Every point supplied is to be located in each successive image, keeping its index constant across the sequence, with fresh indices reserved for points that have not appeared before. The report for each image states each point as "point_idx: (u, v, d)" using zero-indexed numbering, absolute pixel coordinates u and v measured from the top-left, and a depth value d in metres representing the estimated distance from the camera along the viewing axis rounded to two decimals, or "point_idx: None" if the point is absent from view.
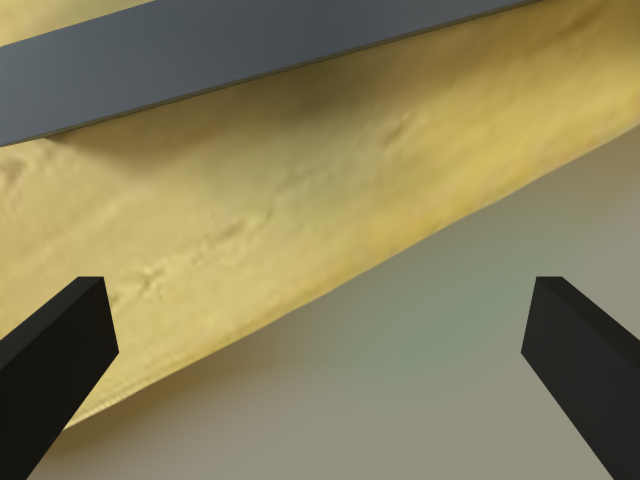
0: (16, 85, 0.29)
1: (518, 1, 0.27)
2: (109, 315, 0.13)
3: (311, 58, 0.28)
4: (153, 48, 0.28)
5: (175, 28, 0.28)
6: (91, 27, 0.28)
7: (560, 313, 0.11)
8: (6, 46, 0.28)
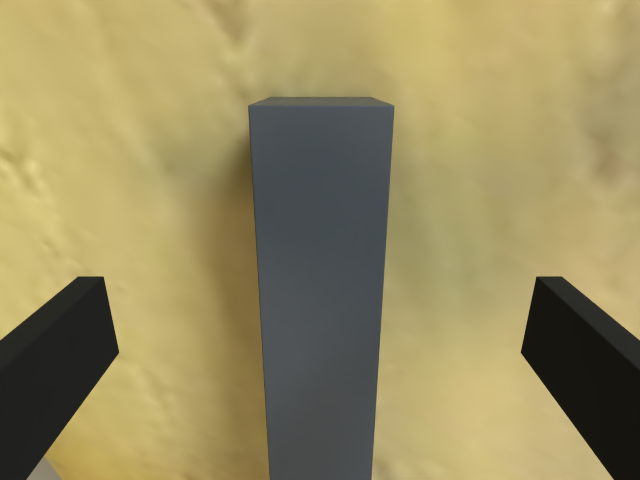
0: (331, 223, 0.19)
1: None
2: (109, 315, 0.13)
3: None
4: (326, 402, 0.22)
5: (340, 428, 0.23)
6: (370, 347, 0.21)
7: (560, 313, 0.11)
8: (384, 235, 0.19)
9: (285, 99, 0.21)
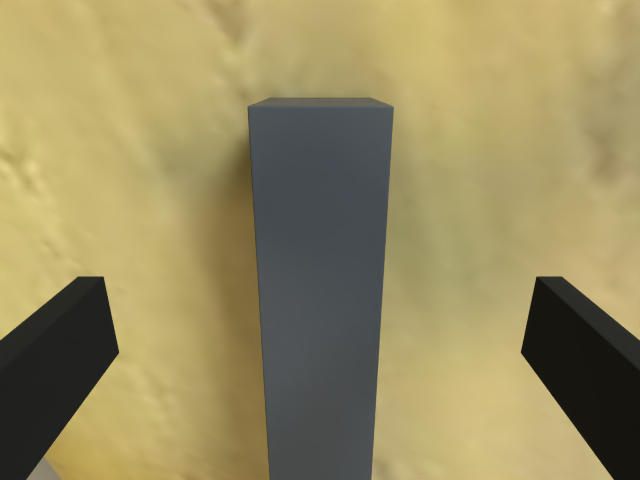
0: (331, 224, 0.19)
1: None
2: (110, 315, 0.13)
3: None
4: (326, 402, 0.22)
5: (340, 429, 0.23)
6: (370, 348, 0.21)
7: (560, 313, 0.11)
8: (384, 235, 0.19)
9: (285, 100, 0.22)
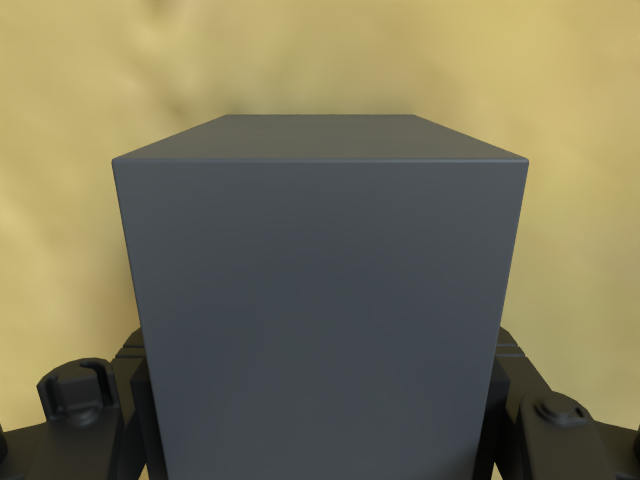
0: (346, 434, 0.08)
1: None
2: None
3: None
4: None
5: None
6: None
7: None
8: (472, 456, 0.08)
9: (246, 123, 0.10)
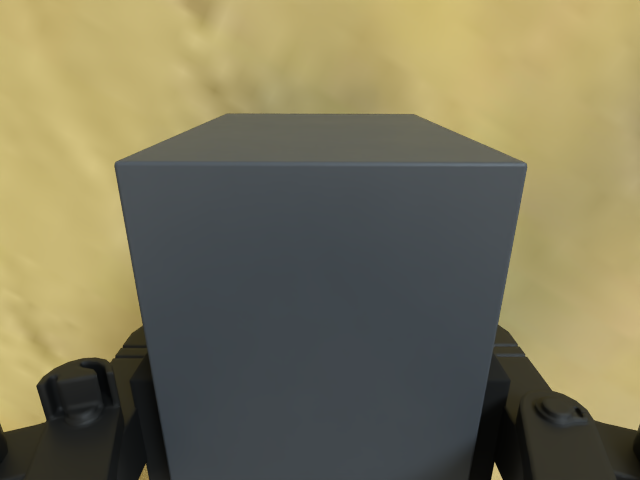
0: (345, 432, 0.08)
1: None
2: None
3: None
4: None
5: None
6: None
7: None
8: (470, 454, 0.08)
9: (247, 123, 0.10)
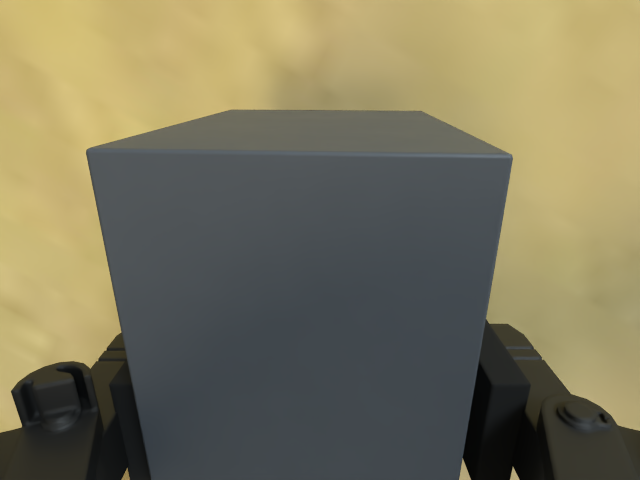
0: (324, 435, 0.08)
1: None
2: None
3: None
4: None
5: None
6: None
7: None
8: (457, 466, 0.08)
9: (244, 118, 0.10)
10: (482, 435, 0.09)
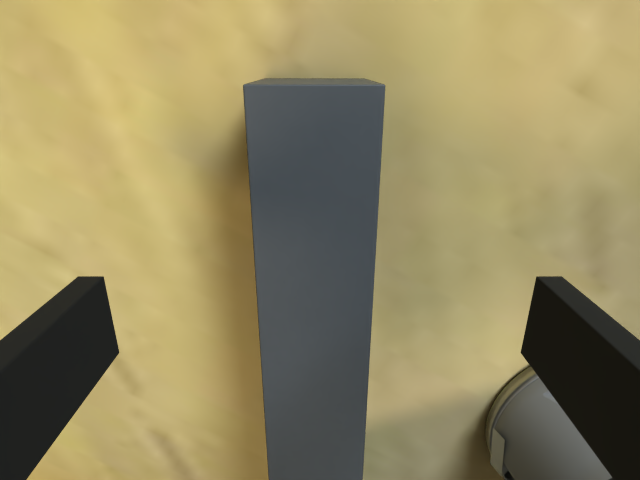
0: (325, 200, 0.19)
1: None
2: (109, 315, 0.13)
3: None
4: (321, 375, 0.23)
5: (334, 400, 0.24)
6: (363, 321, 0.22)
7: (560, 313, 0.11)
8: (376, 212, 0.20)
9: None
10: None
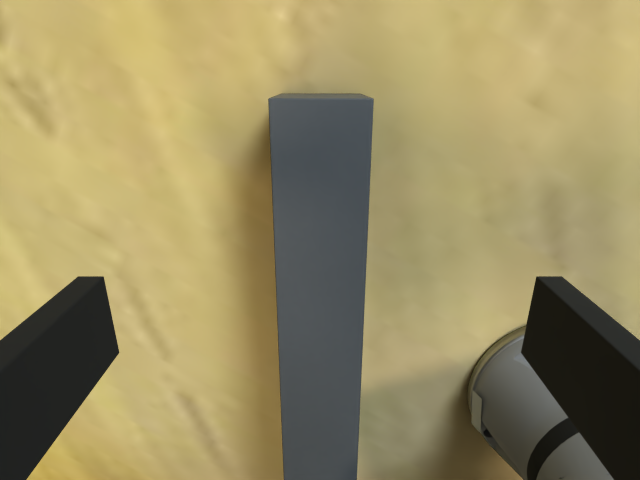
0: (328, 186, 0.25)
1: None
2: (110, 315, 0.13)
3: (283, 440, 0.33)
4: (325, 328, 0.29)
5: (335, 351, 0.30)
6: (358, 283, 0.28)
7: (560, 313, 0.11)
8: (368, 195, 0.26)
9: None
10: None
